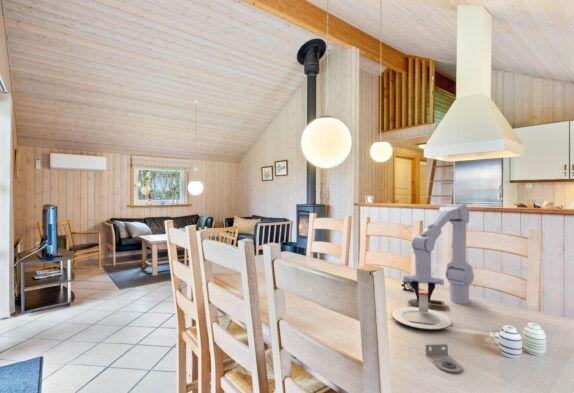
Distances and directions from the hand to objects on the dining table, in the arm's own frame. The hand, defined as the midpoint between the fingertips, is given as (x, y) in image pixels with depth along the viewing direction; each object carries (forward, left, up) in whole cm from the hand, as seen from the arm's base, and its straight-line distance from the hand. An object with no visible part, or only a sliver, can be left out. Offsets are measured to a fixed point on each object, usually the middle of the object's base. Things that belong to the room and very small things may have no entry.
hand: (423, 301), depth 122 cm
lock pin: (0, 0, -4) cm, 4 cm away
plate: (+6, -1, -6) cm, 8 cm away
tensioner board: (-10, +2, -6) cm, 12 cm away
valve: (-35, -4, -6) cm, 36 cm away
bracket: (+35, +5, -6) cm, 35 cm away
